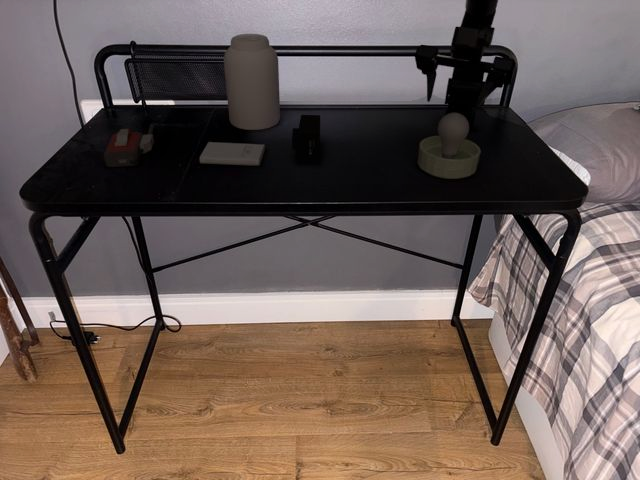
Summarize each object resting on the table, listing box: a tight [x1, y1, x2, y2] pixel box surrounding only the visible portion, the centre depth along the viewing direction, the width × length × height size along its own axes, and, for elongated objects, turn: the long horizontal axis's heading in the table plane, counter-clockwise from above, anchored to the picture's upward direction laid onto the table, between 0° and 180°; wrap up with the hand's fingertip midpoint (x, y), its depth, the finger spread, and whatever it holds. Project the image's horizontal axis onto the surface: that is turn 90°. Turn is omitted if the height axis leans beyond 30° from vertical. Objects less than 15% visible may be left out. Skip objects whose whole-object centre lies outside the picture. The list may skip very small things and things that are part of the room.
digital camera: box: [291, 114, 321, 165], centre depth 108 cm, size 10×5×7 cm, turn 178°
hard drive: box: [199, 141, 266, 167], centre depth 107 cm, size 2×8×12 cm
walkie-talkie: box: [103, 123, 155, 168], centre depth 109 cm, size 9×4×20 cm
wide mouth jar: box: [223, 33, 281, 131], centre depth 119 cm, size 12×12×20 cm
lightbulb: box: [437, 113, 470, 159], centre depth 102 cm, size 6×6×11 cm
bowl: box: [416, 135, 482, 180], centre depth 104 cm, size 12×12×4 cm
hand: (451, 105), depth 97 cm, fingers open, 9 cm apart
